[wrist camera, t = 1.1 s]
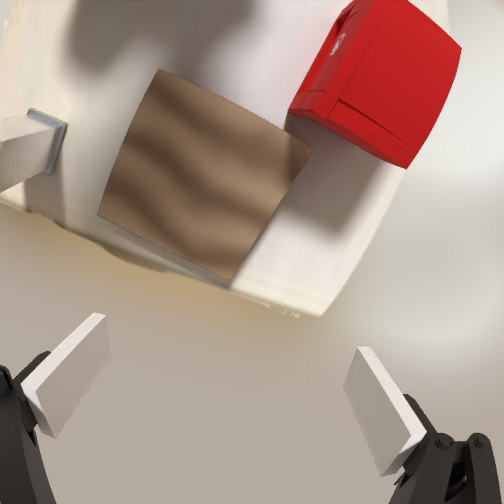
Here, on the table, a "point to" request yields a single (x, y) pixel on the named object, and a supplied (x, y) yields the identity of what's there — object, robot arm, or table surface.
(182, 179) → the walnut stand
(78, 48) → the table surface
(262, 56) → the table surface
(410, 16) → the fire alarm
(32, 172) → the aluminium housing
